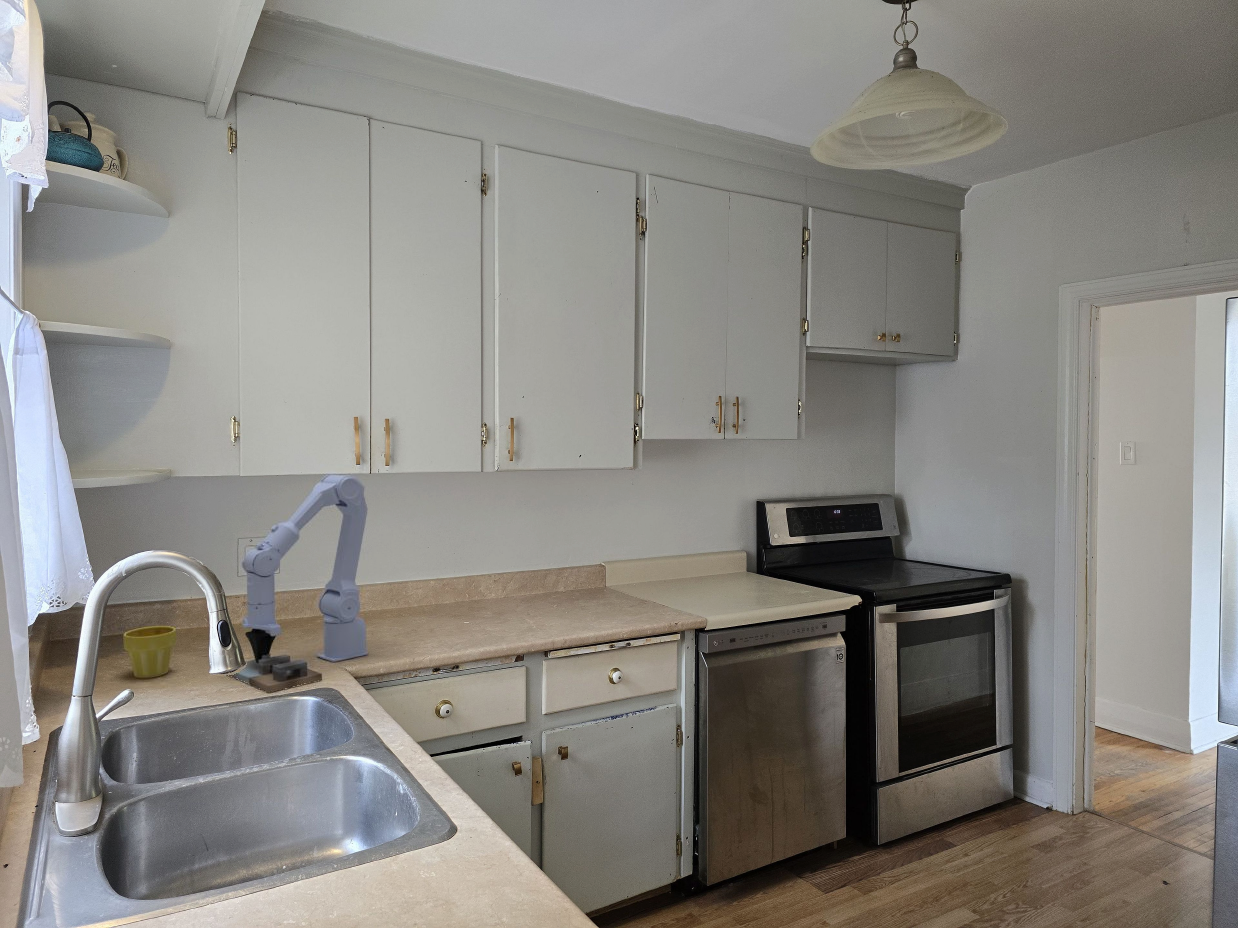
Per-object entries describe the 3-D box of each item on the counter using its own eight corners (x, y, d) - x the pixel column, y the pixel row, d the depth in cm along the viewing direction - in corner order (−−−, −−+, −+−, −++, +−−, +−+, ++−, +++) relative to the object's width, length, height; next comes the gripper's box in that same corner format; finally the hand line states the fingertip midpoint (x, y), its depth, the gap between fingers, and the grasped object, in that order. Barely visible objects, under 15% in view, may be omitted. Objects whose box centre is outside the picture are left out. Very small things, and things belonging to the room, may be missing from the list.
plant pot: (117, 682, 180) (117, 637, 180) (131, 669, 190) (130, 627, 190) (171, 678, 183) (170, 634, 183) (181, 666, 193) (180, 624, 192)
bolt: (269, 665, 188) (269, 652, 188) (293, 674, 181) (293, 661, 181) (258, 667, 186) (258, 654, 186) (282, 677, 179) (282, 663, 179)
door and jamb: (273, 662, 197) (273, 643, 196) (321, 680, 182) (321, 660, 182) (222, 672, 187) (222, 653, 187) (268, 693, 173) (268, 671, 173)
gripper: (228, 600, 189) (229, 659, 189) (258, 609, 179) (259, 672, 180) (259, 596, 194) (260, 653, 195) (289, 604, 185) (290, 665, 185)
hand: (261, 662), depth 188 cm, fingers closed
